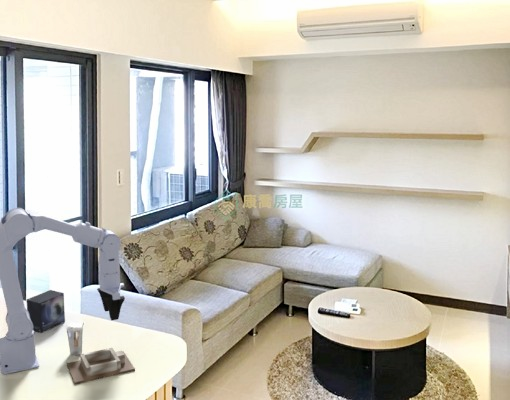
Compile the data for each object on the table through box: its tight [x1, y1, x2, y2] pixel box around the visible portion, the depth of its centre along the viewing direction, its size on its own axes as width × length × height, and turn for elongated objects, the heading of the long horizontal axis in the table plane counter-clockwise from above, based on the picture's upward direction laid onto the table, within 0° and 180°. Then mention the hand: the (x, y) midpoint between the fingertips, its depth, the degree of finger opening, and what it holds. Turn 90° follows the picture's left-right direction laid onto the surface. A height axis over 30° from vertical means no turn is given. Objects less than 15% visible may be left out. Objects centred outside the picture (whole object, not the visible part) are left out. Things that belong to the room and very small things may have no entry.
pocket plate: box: [66, 347, 136, 385], centre depth 152 cm, size 16×12×3 cm
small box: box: [26, 289, 66, 334], centre depth 179 cm, size 11×6×10 cm, turn 155°
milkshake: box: [66, 322, 85, 357], centre depth 160 cm, size 4×5×10 cm
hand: (111, 315), depth 164 cm, fingers open, 7 cm apart
